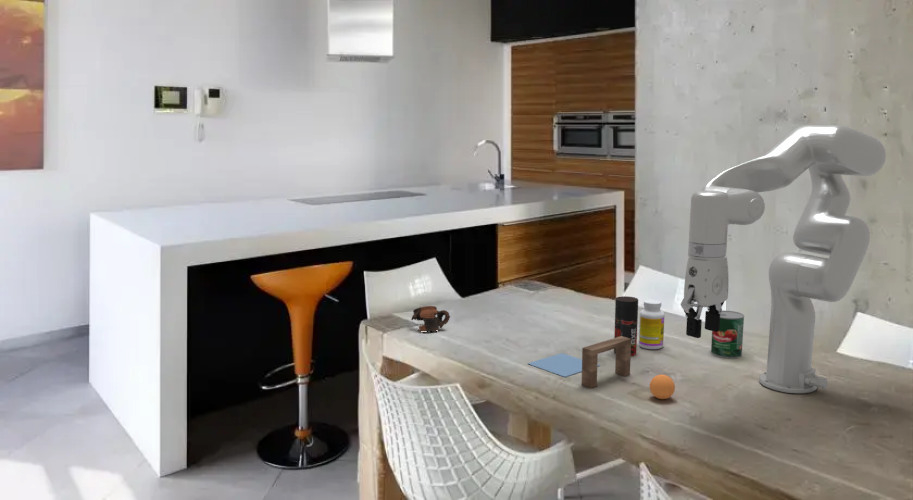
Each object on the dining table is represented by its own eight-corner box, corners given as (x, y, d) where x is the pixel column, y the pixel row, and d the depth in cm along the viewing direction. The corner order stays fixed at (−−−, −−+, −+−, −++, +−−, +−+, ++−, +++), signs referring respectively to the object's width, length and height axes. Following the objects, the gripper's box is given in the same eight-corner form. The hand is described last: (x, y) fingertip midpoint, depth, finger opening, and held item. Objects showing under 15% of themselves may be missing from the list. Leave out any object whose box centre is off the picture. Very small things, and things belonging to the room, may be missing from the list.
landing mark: (599, 365, 189) (599, 365, 189) (565, 377, 181) (565, 376, 181) (562, 353, 199) (562, 353, 199) (527, 364, 191) (527, 363, 191)
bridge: (629, 374, 182) (631, 338, 181) (591, 388, 173) (592, 350, 172) (620, 371, 185) (621, 336, 183) (581, 384, 176) (582, 347, 174)
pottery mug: (410, 335, 218) (406, 308, 221) (419, 340, 227) (415, 315, 230) (448, 326, 216) (444, 300, 219) (456, 332, 225) (452, 306, 228)
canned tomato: (740, 350, 200) (742, 311, 198) (743, 359, 193) (745, 319, 191) (709, 348, 203) (711, 309, 201) (711, 357, 195) (713, 317, 193)
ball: (679, 398, 166) (680, 375, 165) (664, 405, 163) (665, 381, 162) (658, 392, 171) (659, 369, 170) (644, 397, 167) (645, 374, 166)
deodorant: (620, 348, 203) (621, 295, 201) (640, 352, 199) (642, 298, 197) (609, 353, 199) (611, 299, 196) (630, 357, 195) (632, 302, 192)
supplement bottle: (664, 350, 201) (666, 305, 198) (638, 349, 202) (640, 304, 200) (662, 343, 207) (664, 299, 205) (638, 342, 208) (639, 298, 206)
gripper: (699, 258, 145) (694, 345, 148) (746, 247, 156) (740, 329, 159) (667, 252, 151) (663, 337, 154) (714, 243, 162) (709, 322, 165)
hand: (702, 332), depth 156 cm, fingers open, 6 cm apart
